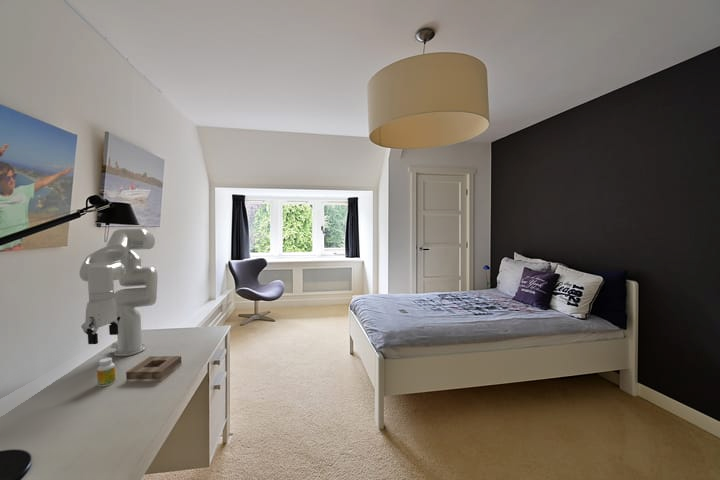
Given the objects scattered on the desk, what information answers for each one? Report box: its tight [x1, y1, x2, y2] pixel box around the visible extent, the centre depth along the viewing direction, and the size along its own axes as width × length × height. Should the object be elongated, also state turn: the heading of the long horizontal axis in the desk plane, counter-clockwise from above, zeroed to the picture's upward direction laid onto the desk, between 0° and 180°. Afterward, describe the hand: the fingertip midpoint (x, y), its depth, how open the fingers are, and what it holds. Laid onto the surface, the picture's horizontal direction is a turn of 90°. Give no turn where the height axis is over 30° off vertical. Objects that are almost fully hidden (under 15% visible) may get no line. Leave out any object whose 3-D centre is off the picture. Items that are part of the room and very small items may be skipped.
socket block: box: [125, 355, 183, 383], centre depth 127 cm, size 14×14×4 cm
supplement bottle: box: [96, 357, 116, 387], centre depth 119 cm, size 5×5×10 cm
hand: (103, 339), depth 118 cm, fingers open, 9 cm apart
